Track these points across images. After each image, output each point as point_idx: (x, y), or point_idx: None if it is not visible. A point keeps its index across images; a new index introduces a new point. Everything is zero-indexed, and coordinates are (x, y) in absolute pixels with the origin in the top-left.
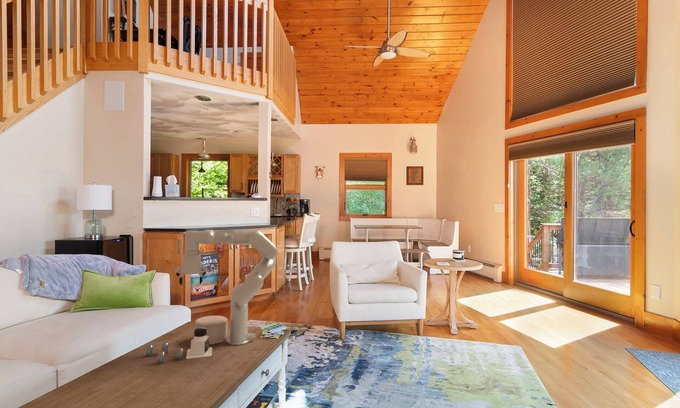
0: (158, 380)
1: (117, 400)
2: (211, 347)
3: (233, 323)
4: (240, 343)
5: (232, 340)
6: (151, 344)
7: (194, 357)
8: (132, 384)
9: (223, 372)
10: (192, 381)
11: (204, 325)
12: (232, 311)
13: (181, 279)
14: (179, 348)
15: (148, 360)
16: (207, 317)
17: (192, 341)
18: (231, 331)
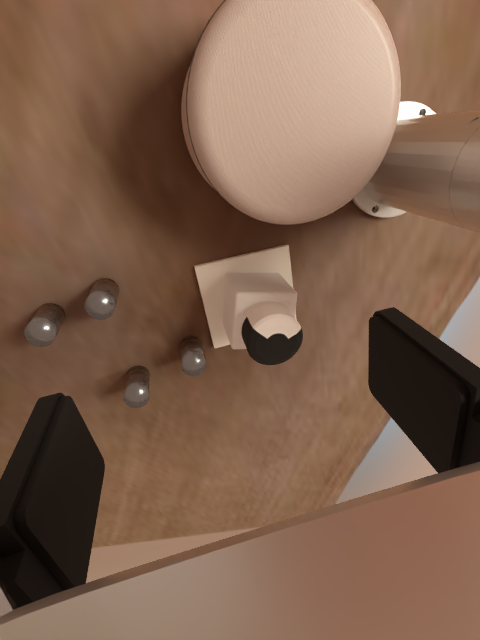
0: (186, 466)
1: (138, 537)
2: (286, 250)
3: (427, 214)
4: (399, 214)
5: (373, 199)
6: (40, 322)
7: None
8: (129, 487)
9: (337, 421)
10: (270, 463)
11: (271, 222)
12: (475, 222)
13: (80, 570)
14: (191, 362)
15: (80, 357)
16: (269, 48)
17: (237, 348)
18: (391, 198)
